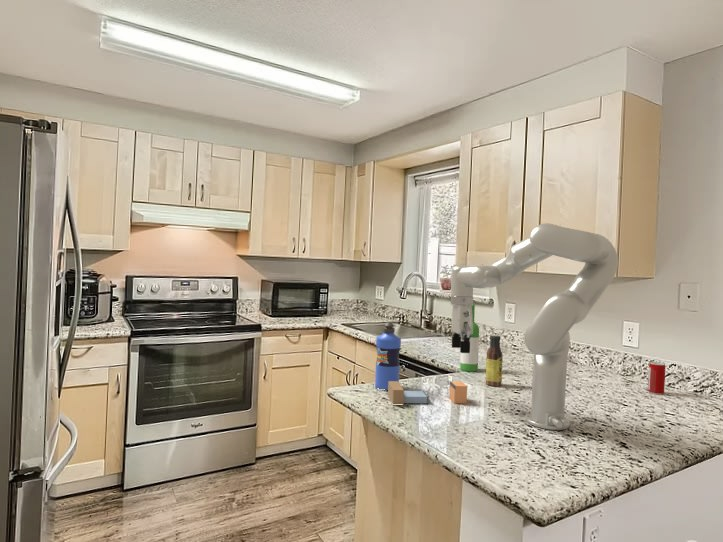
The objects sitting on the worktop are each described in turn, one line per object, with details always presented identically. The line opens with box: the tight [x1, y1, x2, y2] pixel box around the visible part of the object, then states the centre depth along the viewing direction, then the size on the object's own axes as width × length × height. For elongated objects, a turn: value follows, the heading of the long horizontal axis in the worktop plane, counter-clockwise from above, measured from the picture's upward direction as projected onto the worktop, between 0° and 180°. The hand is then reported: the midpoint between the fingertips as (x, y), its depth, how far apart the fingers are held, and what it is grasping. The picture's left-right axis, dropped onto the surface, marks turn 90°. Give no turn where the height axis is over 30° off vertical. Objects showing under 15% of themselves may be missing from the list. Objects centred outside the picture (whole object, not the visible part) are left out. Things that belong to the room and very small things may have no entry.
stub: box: [448, 380, 468, 404], centre depth 160 cm, size 6×4×6 cm
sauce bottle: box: [485, 334, 504, 387], centre depth 183 cm, size 6×6×20 cm
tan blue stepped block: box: [387, 381, 429, 405], centre depth 158 cm, size 11×12×5 cm
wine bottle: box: [459, 303, 480, 373], centre depth 207 cm, size 8×8×30 cm
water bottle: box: [374, 321, 402, 390], centre depth 174 cm, size 9×9×25 cm
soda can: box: [647, 361, 666, 396], centre depth 179 cm, size 6×6×12 cm
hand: (460, 350), depth 160 cm, fingers open, 9 cm apart
